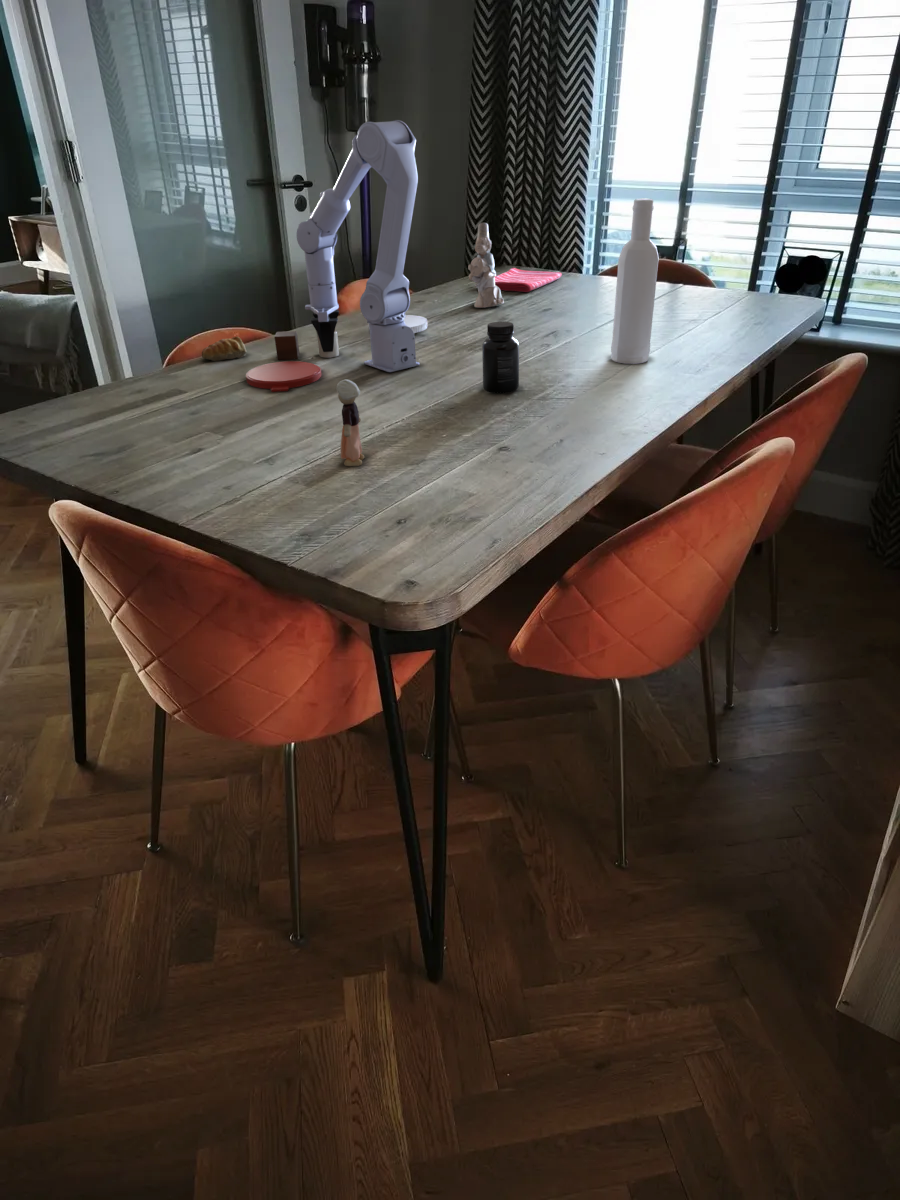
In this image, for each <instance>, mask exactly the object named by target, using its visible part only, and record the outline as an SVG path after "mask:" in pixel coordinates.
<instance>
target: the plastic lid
mask: <svg viewBox="0 0 900 1200" xmlns="http://www.w3.org/2000/svg"><path fill="white" fill-rule="evenodd" d="M404 322H405V324H406V325H407V326H408V327H410V328H411V329H412V331H413V333H414V334H416V333H417V334H418V333H421V332H423V331H426V330H427V329H428V319H427V318H426V317H424V316H420V315H415V314H405V318H404ZM368 331H370V328H369V327H368Z"/></svg>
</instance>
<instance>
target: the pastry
mask: <svg viewBox="0 0 900 1200" xmlns="http://www.w3.org/2000/svg"><path fill="white" fill-rule="evenodd" d="M246 355H247V347H246V346H245V344H244V342H243V340H242V338H241V337H239V336H232V337H231V338H222V339H219V340H218V341H215V342H214V343H212V344H209V345H208V346H206V347H204V348H202V350H201V358H203V359H206V360H209V361H213V362H214V361H215V362H218V361H225V360H234V359H235V358H238V359H241V358H244V357H245V356H246Z"/></svg>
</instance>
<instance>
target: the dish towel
mask: <svg viewBox="0 0 900 1200" xmlns="http://www.w3.org/2000/svg"><path fill="white" fill-rule="evenodd" d="M562 275H563V274H562V272H556V271H555V272H554V271H542V270H523V269H519V268H516V267H511V268H510V269H508V270H507V271H505V272H502V273H501V274H496V276H495V285H496V286H497V287H499V288H500V291H506V292H521V293H529V292H532V291H533V290H536V289H539V288H541V287H544V286H546V285H547V284H550V283H552V282H554V281H557V280H558V279H560V278H561V277H562Z"/></svg>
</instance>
